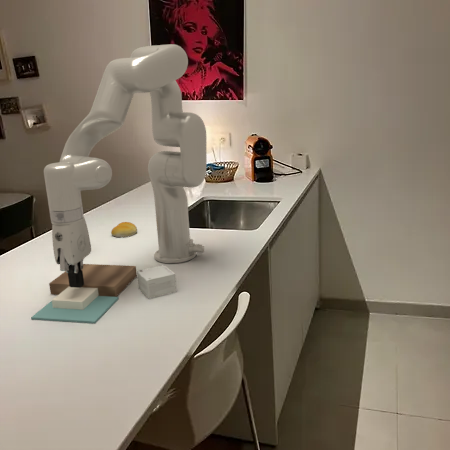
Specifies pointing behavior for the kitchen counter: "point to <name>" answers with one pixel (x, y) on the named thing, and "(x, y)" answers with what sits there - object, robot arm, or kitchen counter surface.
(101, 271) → the board
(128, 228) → the bread roll
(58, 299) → the tile
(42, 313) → the mat
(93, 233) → the kitchen counter surface
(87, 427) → the kitchen counter surface
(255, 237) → the kitchen counter surface
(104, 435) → the kitchen counter surface
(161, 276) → the small box
